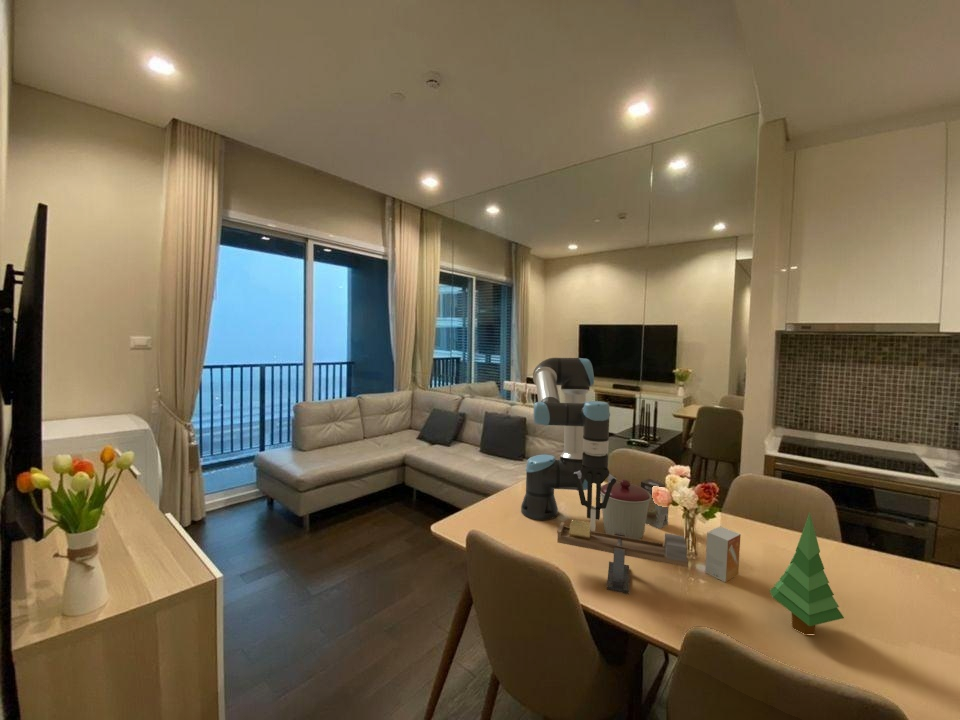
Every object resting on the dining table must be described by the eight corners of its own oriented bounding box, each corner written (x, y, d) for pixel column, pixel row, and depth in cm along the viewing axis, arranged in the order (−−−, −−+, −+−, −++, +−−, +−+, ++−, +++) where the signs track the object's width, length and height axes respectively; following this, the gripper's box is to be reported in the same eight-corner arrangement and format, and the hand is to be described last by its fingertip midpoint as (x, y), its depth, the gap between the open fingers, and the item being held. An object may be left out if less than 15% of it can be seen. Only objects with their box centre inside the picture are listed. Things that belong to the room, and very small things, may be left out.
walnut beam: (561, 532, 130) (561, 515, 130) (684, 555, 118) (685, 535, 117) (557, 544, 123) (557, 525, 122) (688, 569, 110) (689, 549, 110)
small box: (726, 583, 119) (728, 540, 119) (704, 572, 125) (706, 531, 124) (739, 575, 124) (741, 533, 123) (717, 565, 129) (719, 525, 128)
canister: (634, 554, 135) (636, 492, 134) (587, 534, 148) (589, 478, 147) (658, 537, 146) (661, 481, 145) (613, 520, 160) (615, 468, 159)
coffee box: (638, 520, 160) (639, 481, 160) (647, 516, 164) (648, 478, 163) (659, 529, 153) (661, 488, 152) (668, 525, 156) (670, 485, 156)
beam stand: (609, 564, 128) (610, 529, 127) (629, 568, 126) (630, 532, 125) (606, 589, 115) (608, 550, 114) (629, 594, 113) (630, 554, 112)
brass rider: (571, 531, 127) (571, 519, 127) (590, 535, 125) (591, 522, 125) (569, 537, 123) (569, 525, 123) (589, 541, 121) (589, 528, 121)
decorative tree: (753, 609, 107) (759, 500, 106) (813, 612, 107) (819, 502, 106) (791, 648, 94) (798, 523, 93) (859, 651, 93) (868, 525, 92)
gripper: (571, 453, 120) (569, 530, 121) (617, 458, 116) (614, 538, 117) (575, 447, 127) (573, 520, 128) (618, 452, 123) (615, 527, 124)
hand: (592, 528), depth 123 cm, fingers closed
